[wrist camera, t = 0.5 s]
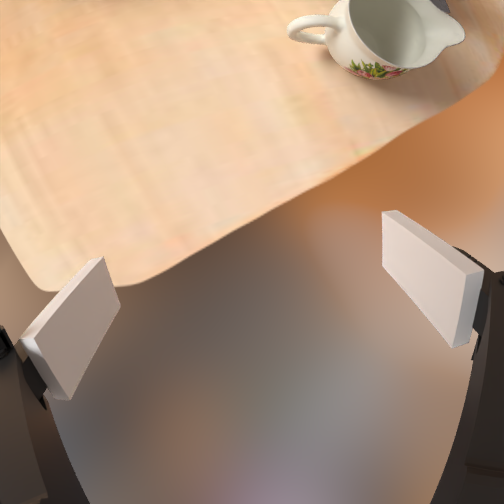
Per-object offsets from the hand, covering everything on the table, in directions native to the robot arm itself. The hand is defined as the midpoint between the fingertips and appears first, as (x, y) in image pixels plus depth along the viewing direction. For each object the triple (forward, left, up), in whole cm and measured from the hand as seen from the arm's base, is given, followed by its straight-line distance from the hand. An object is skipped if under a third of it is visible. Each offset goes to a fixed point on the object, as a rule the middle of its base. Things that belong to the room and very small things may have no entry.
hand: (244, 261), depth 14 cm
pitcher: (-13, +18, -28) cm, 36 cm away
